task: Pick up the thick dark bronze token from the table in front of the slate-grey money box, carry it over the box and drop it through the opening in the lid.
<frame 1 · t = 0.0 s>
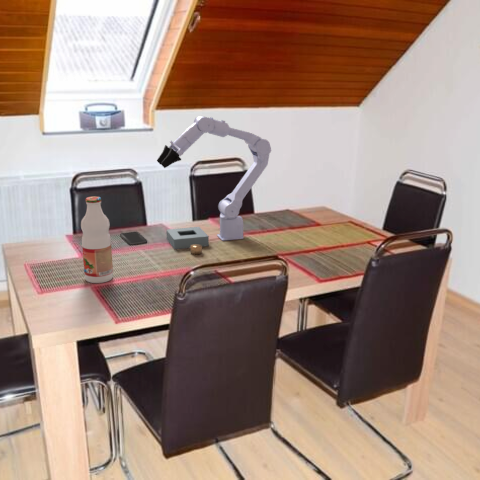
hand: (160, 164, 214), 32 cm above the table, tool tilted 50°, fingers open, 7 cm apart
phone: (133, 240, 230), on the table
token: (196, 253, 214), on the table
money box: (187, 242, 226), on the table
fruit juice: (99, 279, 188), on the table
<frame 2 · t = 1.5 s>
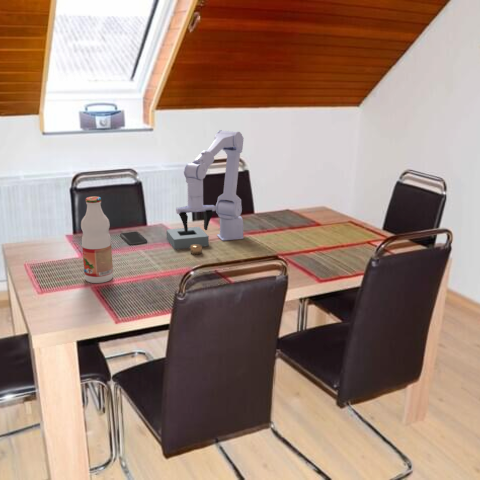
hand: (195, 230, 211), 9 cm above the table, tool pointing down, fingers open, 7 cm apart
nothing on the table moved.
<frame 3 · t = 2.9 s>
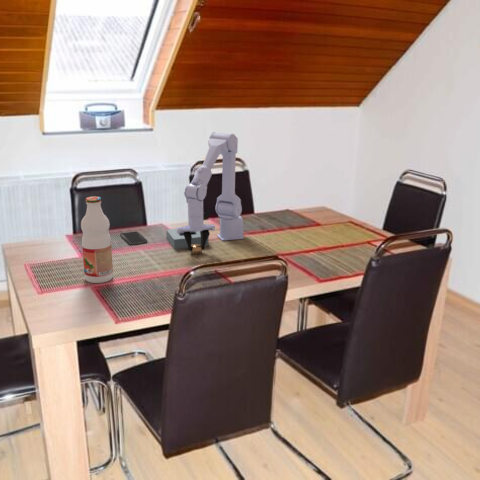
hand: (196, 249, 213), 1 cm above the table, tool pointing down, fingers closed on token, 4 cm apart
token: (196, 253, 213), on the table, touching gripper
everything else where it was.
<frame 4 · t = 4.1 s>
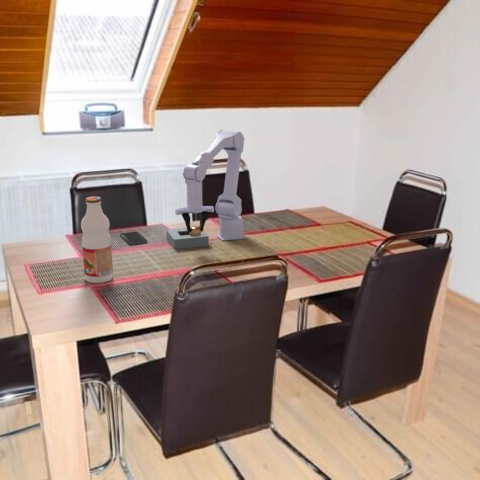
hand: (195, 231, 212), 8 cm above the table, tool pointing down, fingers closed on token, 4 cm apart
token: (195, 235, 213), point 7 cm above the table, touching gripper
everything else where it was.
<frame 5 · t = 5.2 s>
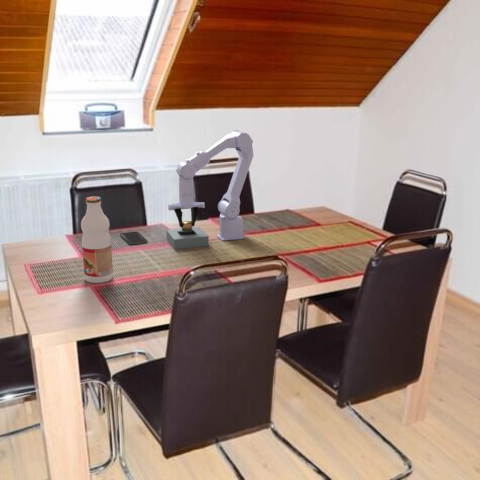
hand: (186, 226, 224), 7 cm above the table, tool pointing down, fingers closed on token, 4 cm apart
token: (186, 229, 224), point 5 cm above the table, touching gripper
everything else where it was.
when the fingers open (6 cm above the table, at t = 5.7 s): token drops 5 cm, resting in money box.
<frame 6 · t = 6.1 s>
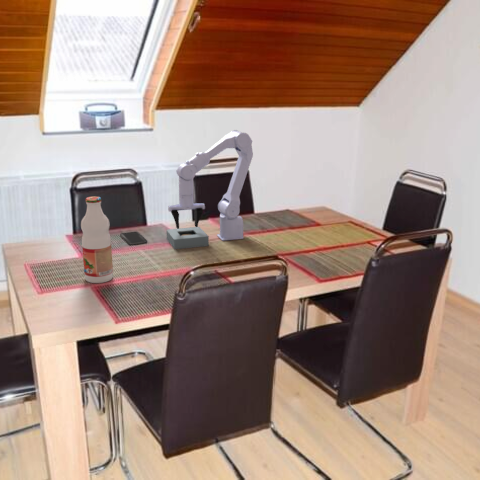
hand: (187, 227, 224), 6 cm above the table, tool pointing down, fingers open, 7 cm apart
token: (187, 242, 226), resting in money box
everything else where it was.
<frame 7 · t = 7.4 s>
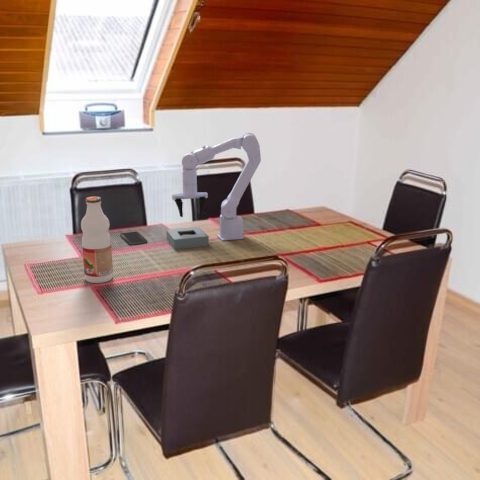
hand: (190, 215, 229), 9 cm above the table, tool pointing down, fingers open, 7 cm apart
nothing on the table moved.
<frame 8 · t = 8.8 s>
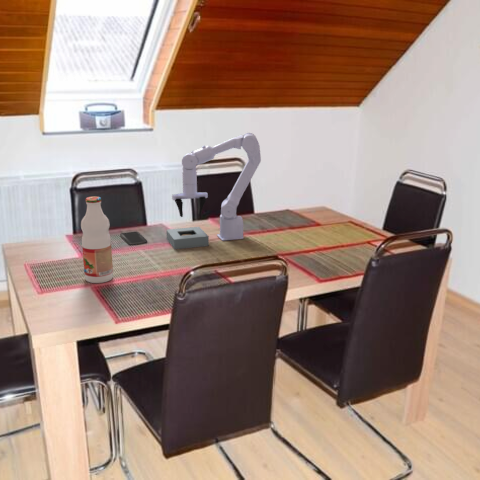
hand: (190, 215, 229), 9 cm above the table, tool pointing down, fingers open, 7 cm apart
nothing on the table moved.
at the end: token inside the target area on the money box (0.1 cm from its centre), point 0.0 cm above the money box's base; the gripper is holding nothing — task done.
